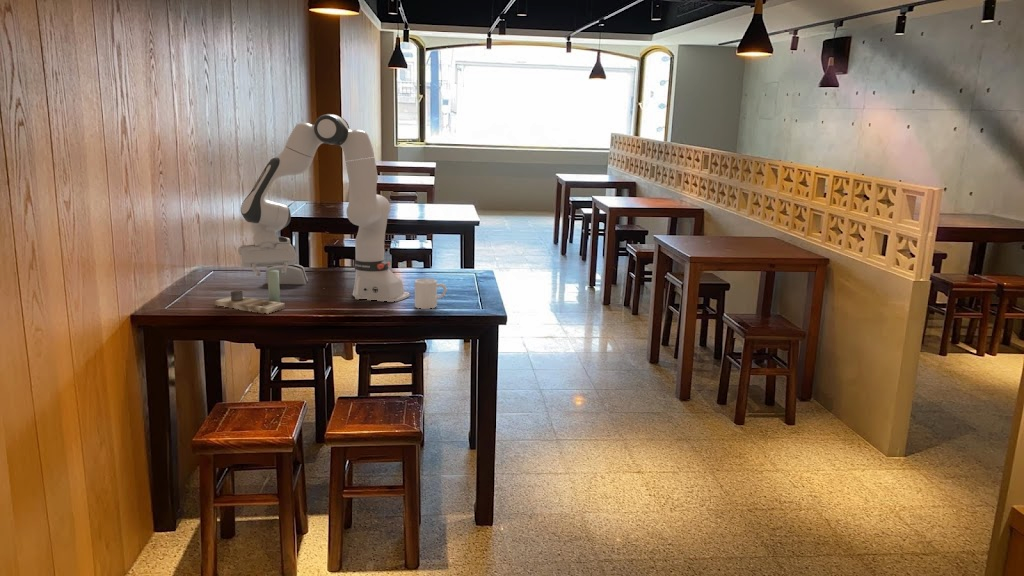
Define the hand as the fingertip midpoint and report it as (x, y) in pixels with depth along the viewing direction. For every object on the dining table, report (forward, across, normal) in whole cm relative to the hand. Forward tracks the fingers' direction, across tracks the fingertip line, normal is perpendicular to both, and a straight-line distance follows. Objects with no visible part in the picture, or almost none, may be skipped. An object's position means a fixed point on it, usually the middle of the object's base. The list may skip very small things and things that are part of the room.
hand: (271, 274), depth 276 cm
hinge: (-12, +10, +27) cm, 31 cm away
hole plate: (+13, -9, +1) cm, 16 cm away
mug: (+29, +52, -15) cm, 61 cm away
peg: (+10, 0, +4) cm, 11 cm away
